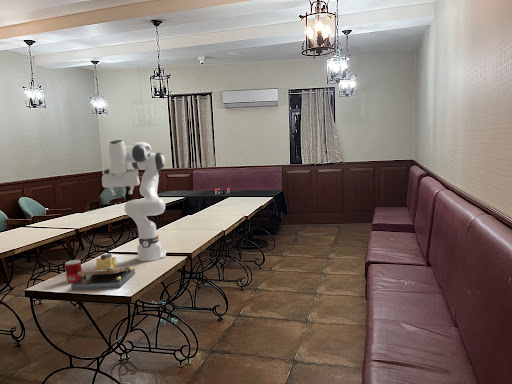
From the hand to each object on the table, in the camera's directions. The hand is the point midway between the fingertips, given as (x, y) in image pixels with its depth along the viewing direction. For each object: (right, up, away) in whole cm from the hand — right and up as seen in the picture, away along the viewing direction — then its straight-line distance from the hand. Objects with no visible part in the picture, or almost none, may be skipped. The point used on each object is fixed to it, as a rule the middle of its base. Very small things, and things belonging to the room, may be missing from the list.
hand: (122, 194), depth 220 cm
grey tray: (-9, -48, -2) cm, 49 cm away
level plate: (-9, -43, -2) cm, 44 cm away
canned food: (-28, -49, +3) cm, 56 cm away
